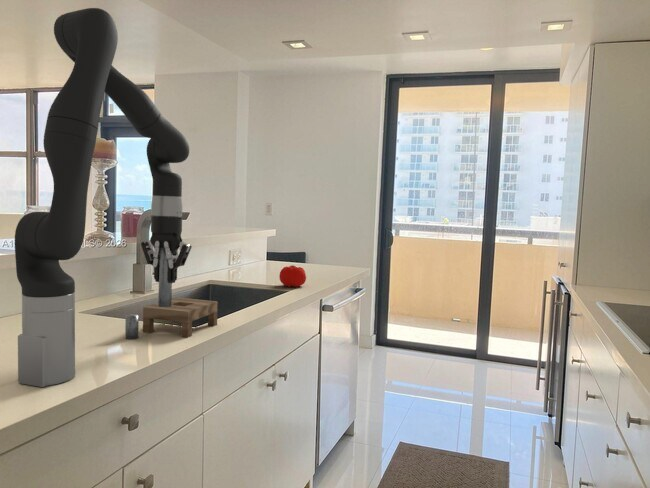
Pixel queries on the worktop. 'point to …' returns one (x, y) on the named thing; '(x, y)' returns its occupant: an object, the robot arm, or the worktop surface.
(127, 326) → the short pin
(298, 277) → the tomato
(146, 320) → the wooden square-hole block
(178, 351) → the worktop surface
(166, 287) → the long pin
